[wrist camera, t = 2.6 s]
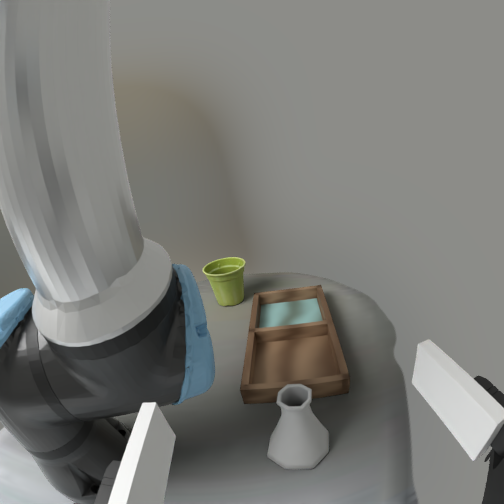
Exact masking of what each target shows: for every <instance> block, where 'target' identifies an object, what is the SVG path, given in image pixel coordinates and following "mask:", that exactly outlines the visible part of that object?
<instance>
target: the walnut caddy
mask: <svg viewBox="0 0 504 504" xmlns="http://www.w3.org/2000/svg"><path fill="white" fill-rule="evenodd" d="M287 384H302V385H304V386H306V387H308V388H310V389H312V398H320V397H327V396H333V395H340V394H345V393H349V384H350V376H349V373H348V369H347V366H346V362H345V359H344V356H343V352H342V349H341V346H340V342H339V339H338V336H337V333H336V329H335V326H334V323H333V320H332V317H331V314H330V311H329V308H328V305H327V302H326V299H325V296H324V293H323V290H322V287H321V285H318V286H310V287H302V288H294V289H286V290H277V291H269V292H260V293H254V298H253V305H252V312H251V319H250V326H249V333H248V340H247V347H246V353H245V360H244V367H243V374H242V381H241V387H240V391H241V395H242V398H243V401H244V404H251V403H271V402H277V396H278V392H279V391H280V390H281V389H282V388H283V387H285V386H286V385H287ZM312 398H311V399H312Z"/></svg>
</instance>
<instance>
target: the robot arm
mask: <svg viewBox="0 0 504 504" xmlns="http://www.w3.org/2000/svg"><path fill="white" fill-rule="evenodd" d="M0 209H1V212H2V214H3V217H4V220H5V223H6V225H7V228H8V230H9V233H10V235H11V238H12V240H13V242H14V245H15V247H16V249H17V251H18V254H19V256H20V258H21V260H22V262H23V264H24V266H25V268H26V270H27V272H28V274H29V276H30V278H31V279H32V281H33V283H34V285H35V287H36V292H35V295H33V294H32V292H31V291H30V290H29V289H28V288H24V289H23V288H21V289H18V290H15V291H14V292H11V293H10V294H8V295H6V296H5V297H3V298H1V299H0V422H1V423H2V424H3V425H4V426H5V428H6V429H7V430H8V431H9V432H10V433H11V434H12V435H13V436H14V437H15V438H16V439H17V441H18V442H19V443H20V444H21V445H22V446H24V447H25V448H26V449H27V450H28V451H29V452H30V453H31V454H32V456H33V458H34V459H35V461H36V463H37V464H38V466H39V467H40V469H41V470H42V472H43V473H44V475H45V476H46V478H47V479H48V481H49V482H50V483H51V485H52V486H53V487H54V488H55V489H57V490H58V491H59V492H60V493H62V494H63V495H65V496H66V497H67V498H69V499H71V500H72V501H74V502H77V503H74V504H164V499H165V493H166V487H167V481H168V476H169V470H170V465H171V459H172V454H173V449H174V444H175V439H176V435H175V434H174V432H173V431H172V429H171V427H170V426H169V424H168V422H167V421H166V419H165V417H164V415H163V414H162V412H161V410H160V408H159V407H161V406H165V405H169V404H172V405H177V404H180V403H182V402H183V401H184V400H186V399H189V398H192V397H194V396H197V395H200V394H202V393H204V392H206V391H207V390H208V389H209V388H210V387H211V385H212V384H213V381H214V377H215V362H214V354H213V347H212V342H211V337H210V334H209V331H208V329H207V321H206V314H205V310H204V306H203V302H202V299H201V295H200V292H199V289H198V286H197V283H196V281H195V279H194V276H193V274H192V272H191V271H190V269H189V268H188V267H187V266H185V265H182V264H180V265H177V264H172V263H171V260H170V257H169V255H168V253H167V252H166V251H165V249H164V248H163V247H162V246H160V245H159V244H157V243H156V242H153V241H151V240H149V239H146V238H144V237H142V234H141V230H140V226H139V222H138V219H137V215H136V211H135V207H134V203H133V198H132V194H131V190H130V185H129V181H128V176H127V171H126V166H125V161H124V156H123V150H122V145H121V139H120V133H119V126H118V120H117V113H116V105H115V97H114V88H113V77H112V67H111V50H110V0H0ZM412 384H413V385H414V386H415V388H416V389H417V390H418V391H419V393H420V394H421V395H422V396H423V397H424V399H425V400H426V401H427V402H428V404H429V405H430V406H431V407H432V409H433V410H434V411H435V412H436V414H437V415H438V416H439V417H440V419H441V420H442V421H443V423H444V424H445V425H446V426H447V428H448V429H449V430H450V432H451V433H452V434H453V435H454V437H455V438H456V439H457V441H458V442H459V443H460V445H461V446H462V447H463V448H464V450H465V451H466V453H467V454H468V455H469V457H470V458H471V459H472V461H475V460H476V459H477V458H478V457H480V456H481V455H483V454H484V453H485V452H486V450H487V449H488V447H489V446H490V445H491V447H492V450H491V451H490V453H489V454H488V455H487V457H486V459H485V462H486V461H487V460H488V459H489V457H490V460H489V461H490V464H489V471H488V477H487V483H486V488H485V492H484V497H483V501H482V504H504V394H503V393H502V392H501V391H498V389H497V388H496V387H495V386H493V384H492V383H491V382H490V381H488V380H487V379H486V378H483V377H481V376H477V377H475V378H474V379H473V378H472V377H471V376H470V375H469V374H468V373H467V372H465V371H464V370H463V369H462V368H461V367H460V366H458V364H457V363H455V361H453V360H452V359H451V358H450V357H449V356H447V354H445V353H444V352H443V351H442V350H441V349H440V348H439V347H438V346H437V345H435V344H434V343H433V342H432V341H431V340H430V339H428V340H426V341H424V342H421V343H419V344H418V347H417V354H416V361H415V367H414V373H413V378H412ZM135 412H139V414H138V416H137V419H136V422H135V424H134V427H133V430H132V433H131V434H130V432H129V431H128V430H127V429H126V427H125V426H124V425H123V424H122V423H121V422H119V421H118V420H117V419H115V418H114V417H116V416H121V415H126V414H131V413H135Z"/></svg>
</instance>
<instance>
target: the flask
mask: <svg viewBox="0 0 504 504" xmlns="http://www.w3.org/2000/svg"><path fill="white" fill-rule="evenodd" d="M311 398H312V389H310V388H308V387H306V386H304V385H302V384H287V385H286V386H285V387H283V388H282V389H281V390H280V391H279V392H278V396H277V405H278V406H280V407H281V413H282V414H281V417H280V419H279V421H278V424H277V426H276V428H275V429H274V431H273V433H272V435H271V437H270V441H269V447H268V453H267V457H268V458H270V459H271V460H272V461H274V462H275V463H277V464H278V465H280V466H281V467H283V468H284V469H313V468H314V467H315V466H316V465H317V464H318V463H319V462H320V461H321V460H322V459H323V458H324V457H325V455H326V454H327V453H328V452H329V432H328V431H327V429H326V428H325V427H324V426H323V425H322V424H321V423H320V422H319V420H318V419H317V418H316V416H315V415H314V414H313V412H312V410H311V407H310V403H311Z"/></svg>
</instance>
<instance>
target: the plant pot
mask: <svg viewBox="0 0 504 504" xmlns="http://www.w3.org/2000/svg"><path fill="white" fill-rule="evenodd" d="M244 266H245V261H244V260H243V259H241V258H235V257H231V258H223V259H219V260H215V261H213V262H211V263H209V264H207V265H206V266H205V267H204V268H203V273H204V274H206V276H207V278H208V279H209V281H210V284H211V286H212V289H213V291H214V294H215V296H216V299H217V301H218V303H219V304H220V305H222V306H227V305H231V306H234V305H237V304H239V303H240V302H242V301H243V298H244V284H243V271H244Z"/></svg>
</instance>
